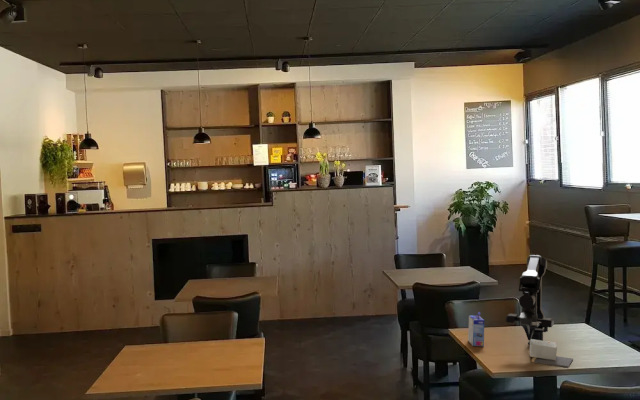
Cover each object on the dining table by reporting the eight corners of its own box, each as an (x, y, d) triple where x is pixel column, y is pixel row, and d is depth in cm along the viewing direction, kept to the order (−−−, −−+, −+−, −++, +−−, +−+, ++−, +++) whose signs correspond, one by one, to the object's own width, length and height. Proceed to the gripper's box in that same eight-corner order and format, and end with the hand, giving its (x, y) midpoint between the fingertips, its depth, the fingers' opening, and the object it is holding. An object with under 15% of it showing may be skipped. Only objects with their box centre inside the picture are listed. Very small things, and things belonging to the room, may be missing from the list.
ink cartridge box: (484, 346, 271) (485, 315, 271) (472, 346, 271) (472, 315, 271) (479, 340, 281) (479, 310, 281) (467, 340, 281) (468, 310, 281)
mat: (537, 354, 258) (537, 352, 258) (573, 359, 251) (573, 357, 251) (531, 362, 248) (531, 359, 248) (568, 367, 240) (568, 364, 240)
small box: (529, 356, 251) (555, 360, 248) (530, 343, 251) (557, 347, 247) (529, 351, 259) (555, 355, 255) (530, 338, 258) (556, 342, 255)
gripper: (502, 305, 251) (502, 341, 252) (548, 310, 242) (548, 348, 242) (509, 300, 261) (508, 335, 261) (554, 305, 251) (553, 341, 252)
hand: (529, 340), depth 254 cm, fingers closed
